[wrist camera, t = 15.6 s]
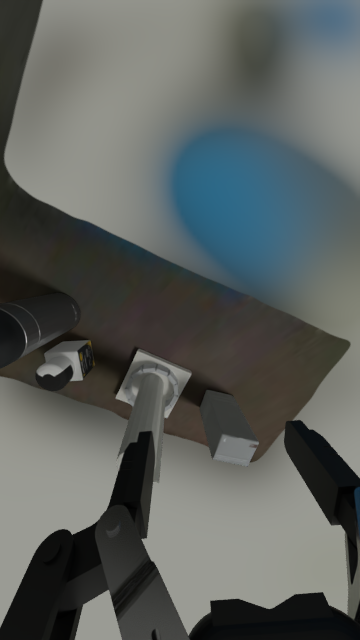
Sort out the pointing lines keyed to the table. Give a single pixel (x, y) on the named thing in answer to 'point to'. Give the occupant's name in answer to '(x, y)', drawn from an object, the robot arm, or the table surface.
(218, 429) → the skincare box
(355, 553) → the robot arm
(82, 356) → the medicine bottle
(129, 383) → the collar socket
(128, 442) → the paper towel roll
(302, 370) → the table surface
